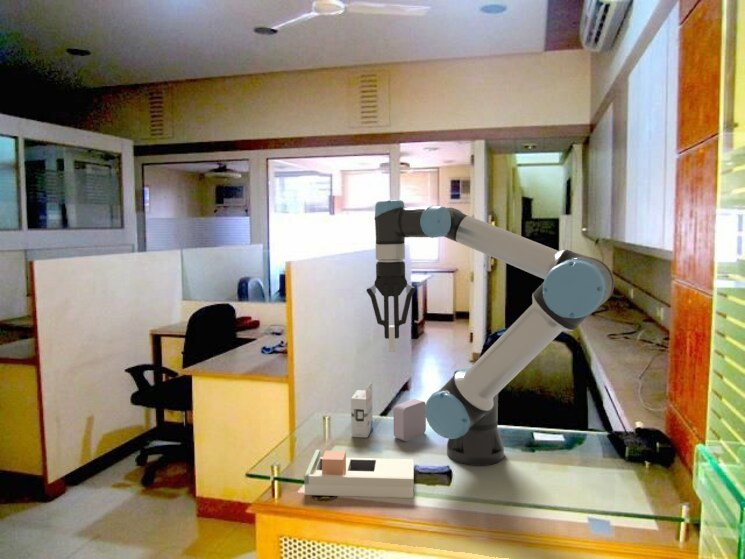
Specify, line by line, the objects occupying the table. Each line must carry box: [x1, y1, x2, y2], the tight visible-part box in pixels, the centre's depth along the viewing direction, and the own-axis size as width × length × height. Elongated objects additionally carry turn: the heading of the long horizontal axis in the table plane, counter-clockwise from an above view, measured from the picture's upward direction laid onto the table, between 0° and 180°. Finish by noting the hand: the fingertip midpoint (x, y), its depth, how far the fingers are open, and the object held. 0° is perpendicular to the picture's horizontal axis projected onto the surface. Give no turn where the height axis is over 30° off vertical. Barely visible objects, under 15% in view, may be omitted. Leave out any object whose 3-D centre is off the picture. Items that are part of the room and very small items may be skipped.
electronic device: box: [393, 398, 427, 442], centre depth 160 cm, size 10×5×10 cm, turn 135°
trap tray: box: [303, 449, 415, 499], centre depth 131 cm, size 25×15×4 cm, turn 85°
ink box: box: [350, 381, 373, 438], centre depth 162 cm, size 9×5×15 cm, turn 168°
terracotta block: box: [322, 450, 347, 475], centre depth 129 cm, size 5×5×5 cm
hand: (392, 350), depth 142 cm, fingers closed
